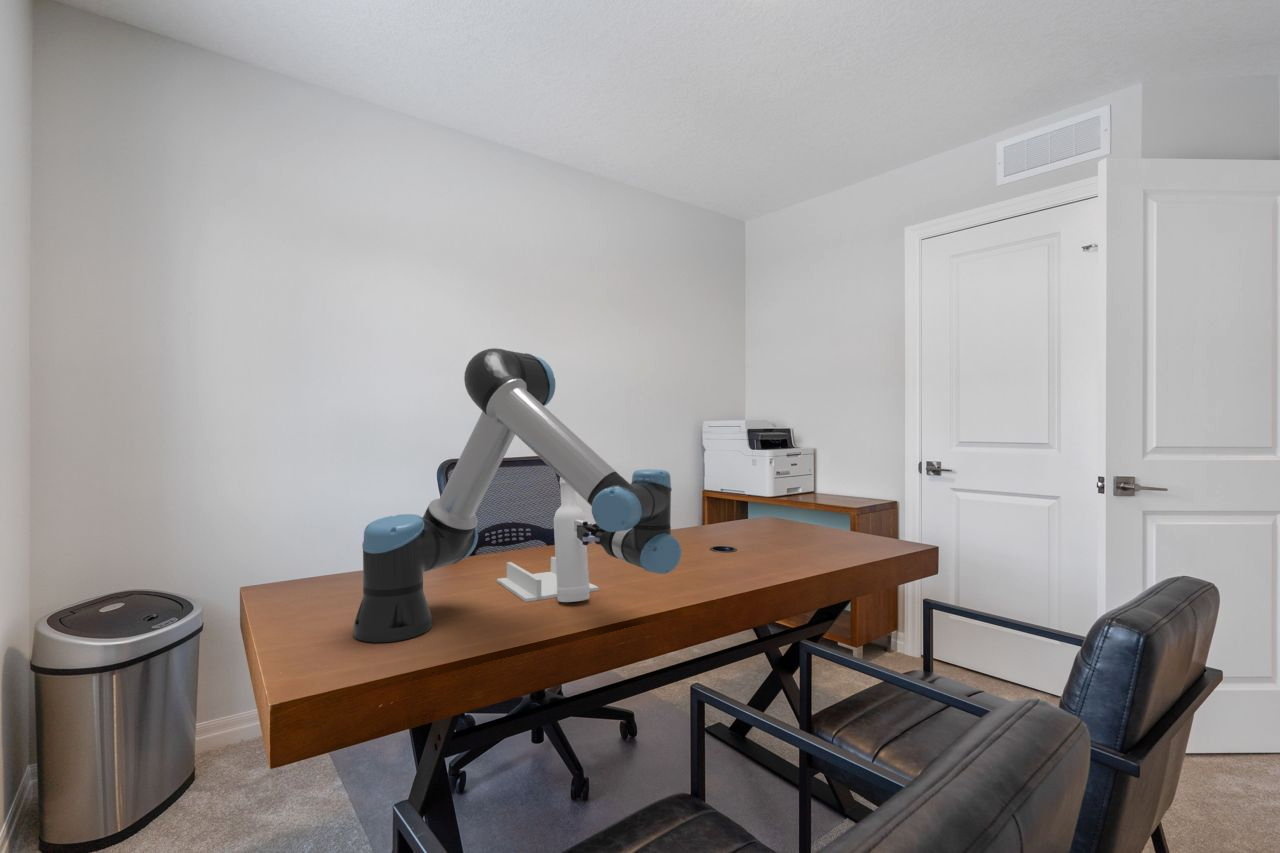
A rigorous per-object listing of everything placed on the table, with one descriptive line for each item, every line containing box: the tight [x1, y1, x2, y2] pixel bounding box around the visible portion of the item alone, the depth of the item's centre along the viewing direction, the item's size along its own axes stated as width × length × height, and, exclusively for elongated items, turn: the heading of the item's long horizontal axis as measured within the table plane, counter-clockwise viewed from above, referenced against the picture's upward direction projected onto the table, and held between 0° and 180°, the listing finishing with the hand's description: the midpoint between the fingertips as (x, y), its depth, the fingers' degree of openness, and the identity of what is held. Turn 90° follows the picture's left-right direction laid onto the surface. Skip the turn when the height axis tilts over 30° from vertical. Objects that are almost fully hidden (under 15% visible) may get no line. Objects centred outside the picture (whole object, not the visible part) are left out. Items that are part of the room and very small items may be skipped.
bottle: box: [553, 477, 590, 603], centre depth 147 cm, size 8×8×30 cm
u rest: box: [496, 556, 600, 603], centre depth 159 cm, size 22×20×5 cm
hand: (577, 525), depth 144 cm, fingers closed
